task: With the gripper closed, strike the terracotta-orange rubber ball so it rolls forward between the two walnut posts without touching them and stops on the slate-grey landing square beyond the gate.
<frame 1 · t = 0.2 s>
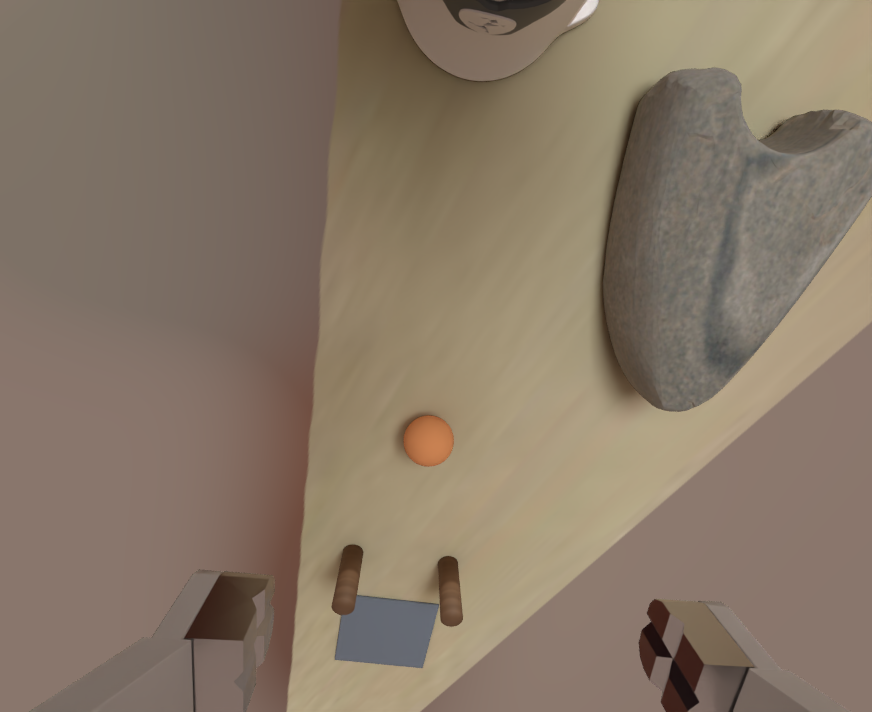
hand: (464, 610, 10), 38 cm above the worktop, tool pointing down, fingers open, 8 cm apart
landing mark: (385, 632, 64), on the worktop
post 2: (447, 563, 60), on the worktop
ball: (428, 440, 50), on the worktop
post 1: (353, 552, 59), on the worktop
stone: (672, 254, 46), on the worktop
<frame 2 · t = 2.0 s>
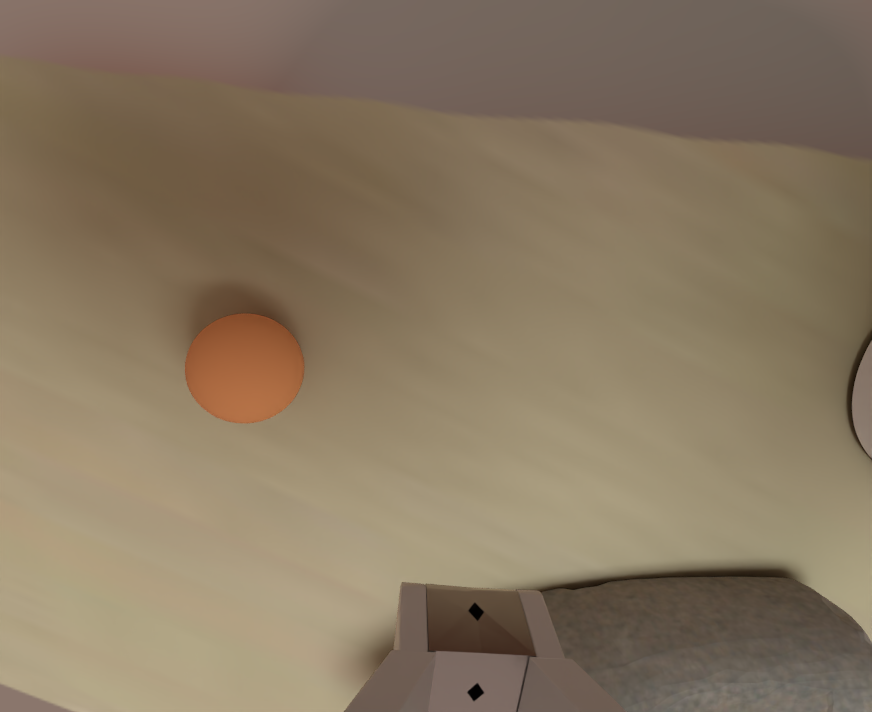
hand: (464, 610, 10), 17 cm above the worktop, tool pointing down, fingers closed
ball: (247, 368, 23), on the worktop
stone: (591, 656, 33), on the worktop
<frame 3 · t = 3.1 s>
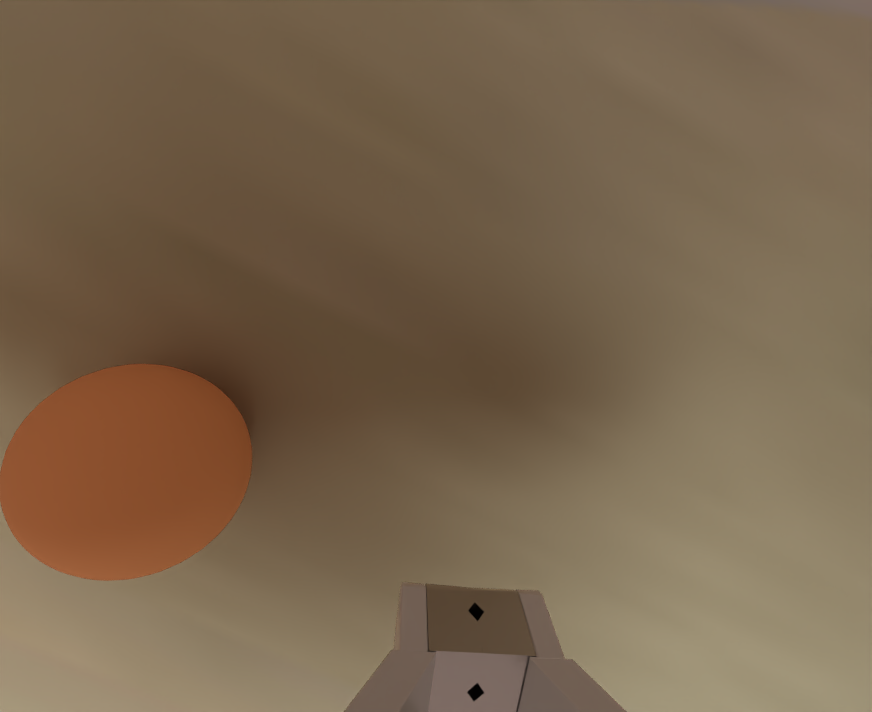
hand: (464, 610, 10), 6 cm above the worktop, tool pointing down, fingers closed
ball: (141, 466, 12), on the worktop
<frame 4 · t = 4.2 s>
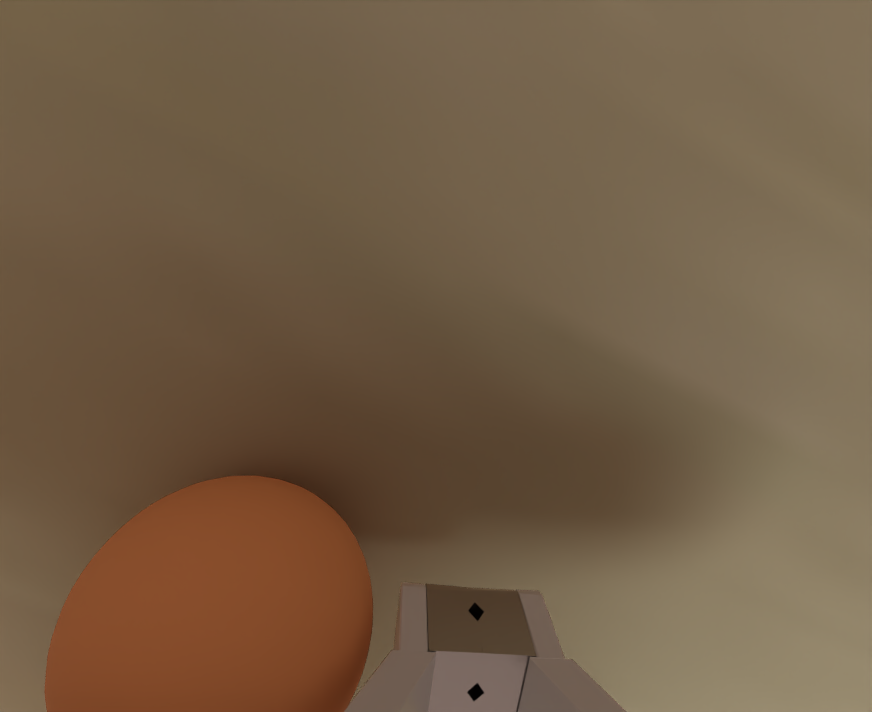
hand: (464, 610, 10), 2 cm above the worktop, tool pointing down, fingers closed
ball: (230, 620, 9), on the worktop
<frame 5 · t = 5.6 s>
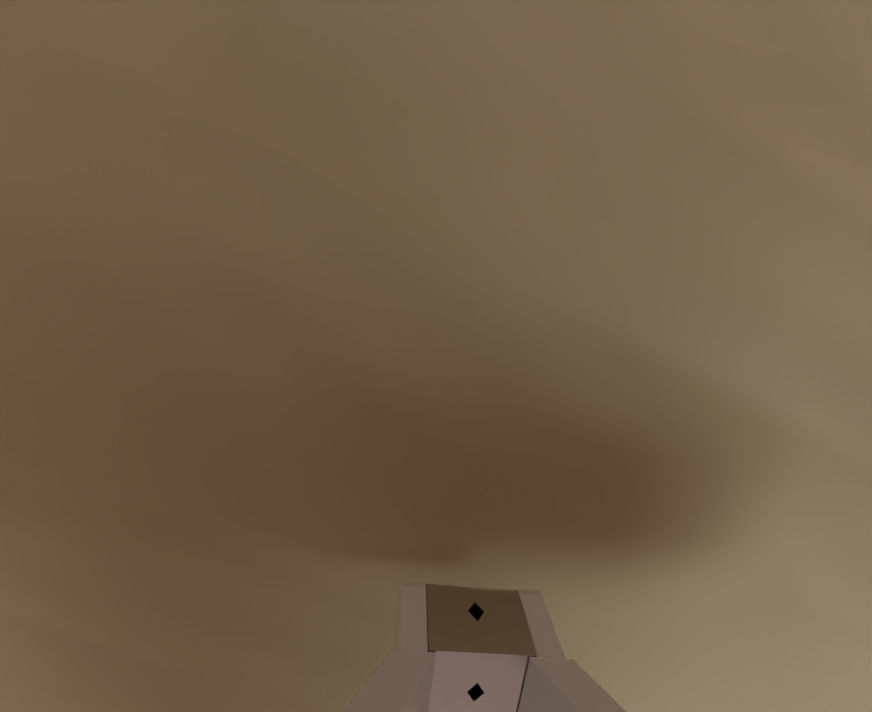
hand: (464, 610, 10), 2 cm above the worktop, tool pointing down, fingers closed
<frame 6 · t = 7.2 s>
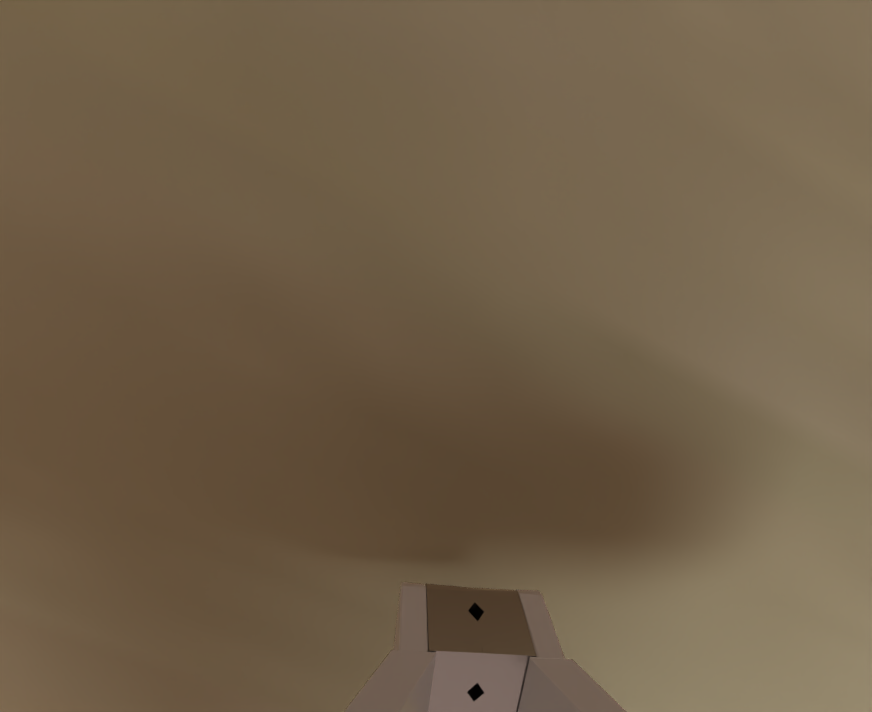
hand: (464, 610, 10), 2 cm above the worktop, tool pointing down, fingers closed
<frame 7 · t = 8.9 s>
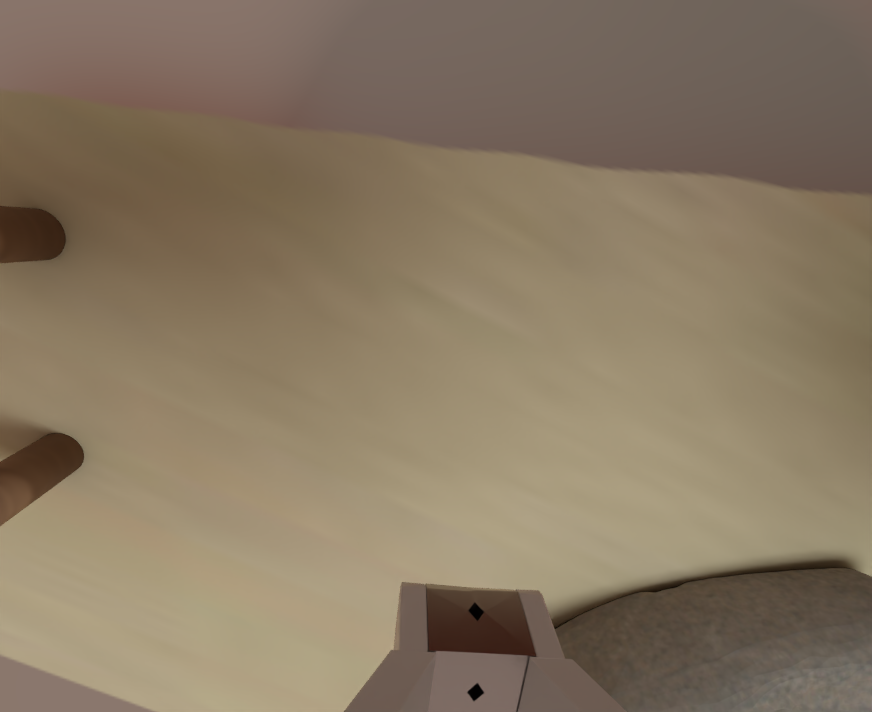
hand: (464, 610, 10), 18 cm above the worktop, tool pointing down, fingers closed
post 2: (60, 453, 27), on the worktop
post 1: (38, 234, 24), on the worktop
stone: (668, 653, 36), on the worktop
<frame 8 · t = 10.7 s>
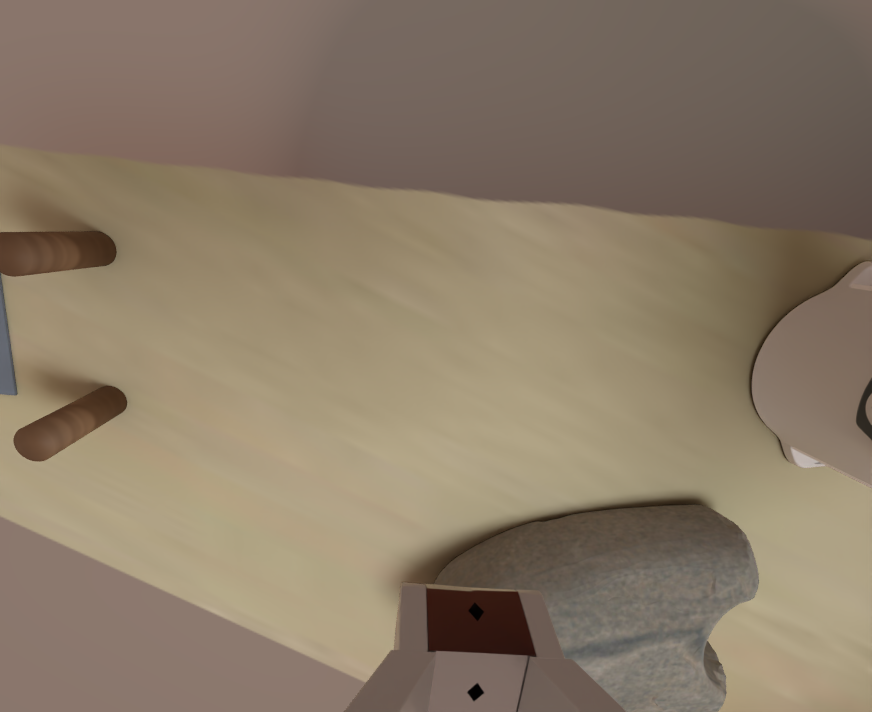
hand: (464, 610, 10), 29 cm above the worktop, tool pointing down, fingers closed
post 2: (110, 400, 38), on the worktop
post 1: (98, 248, 35), on the worktop
stone: (564, 572, 46), on the worktop
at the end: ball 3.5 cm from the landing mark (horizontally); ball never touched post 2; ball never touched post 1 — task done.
